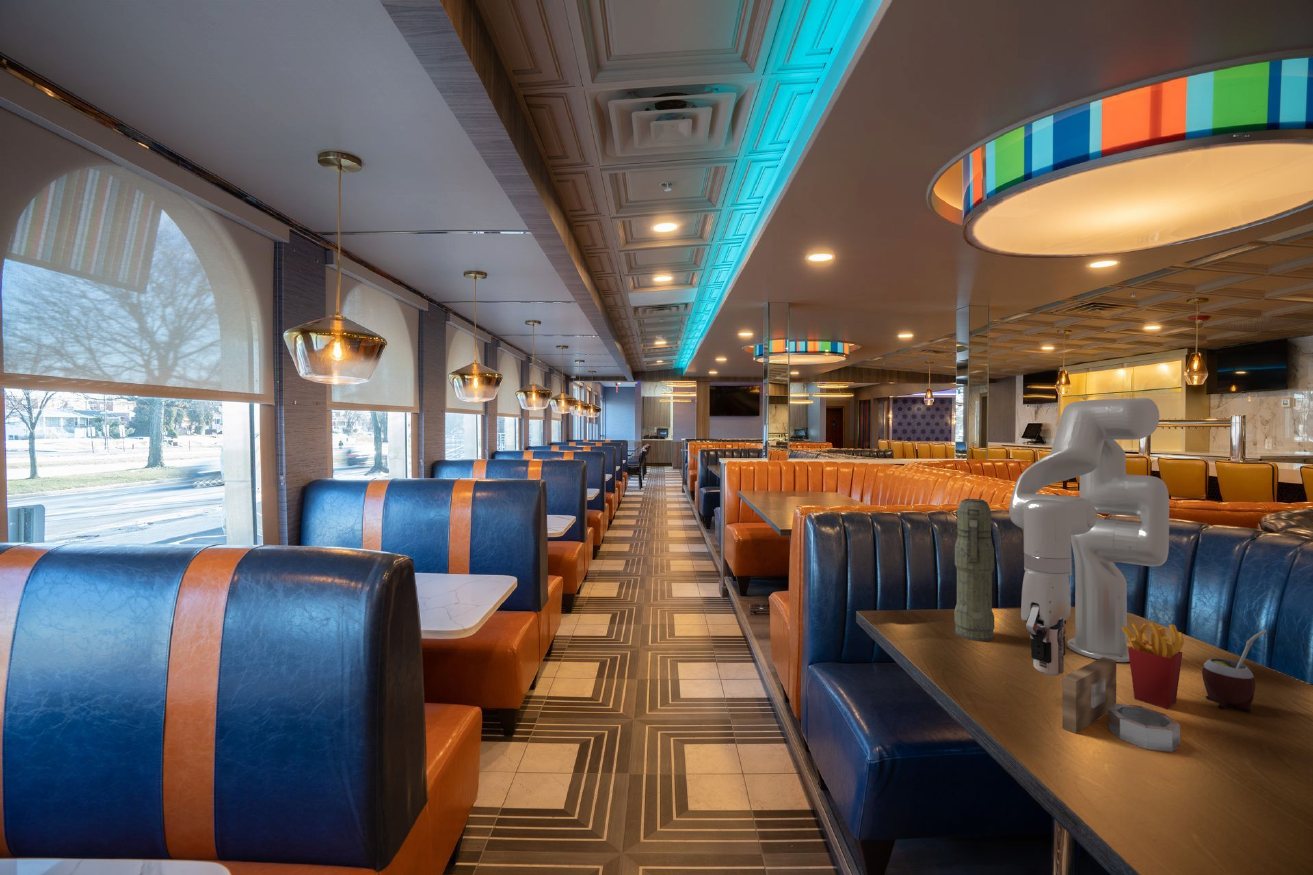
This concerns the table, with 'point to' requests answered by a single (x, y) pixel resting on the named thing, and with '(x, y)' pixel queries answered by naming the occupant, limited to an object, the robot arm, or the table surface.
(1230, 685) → the mate gourd
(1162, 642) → the french fries
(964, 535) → the thermos
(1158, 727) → the grey octagonal ring
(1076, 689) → the brown flat block
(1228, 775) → the table surface
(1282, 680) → the table surface
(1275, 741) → the table surface
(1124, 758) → the table surface
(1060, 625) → the beer can
